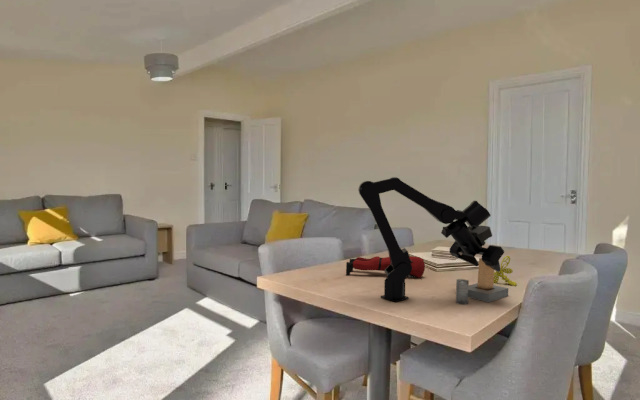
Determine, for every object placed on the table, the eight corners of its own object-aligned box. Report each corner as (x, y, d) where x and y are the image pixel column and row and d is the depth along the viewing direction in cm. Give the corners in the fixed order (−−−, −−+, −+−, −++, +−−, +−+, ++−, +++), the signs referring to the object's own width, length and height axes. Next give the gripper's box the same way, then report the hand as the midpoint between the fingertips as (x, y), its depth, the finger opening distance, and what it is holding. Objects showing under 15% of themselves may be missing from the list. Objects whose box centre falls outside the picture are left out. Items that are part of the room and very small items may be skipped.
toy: (341, 282, 160) (424, 287, 153) (341, 260, 160) (424, 264, 153) (353, 267, 187) (424, 270, 180) (353, 248, 187) (425, 251, 180)
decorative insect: (497, 297, 158) (478, 275, 161) (498, 295, 160) (480, 273, 164) (527, 278, 152) (507, 255, 155) (528, 276, 155) (509, 253, 158)
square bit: (484, 296, 140) (487, 260, 139) (476, 294, 143) (479, 258, 142) (492, 296, 141) (494, 259, 141) (484, 293, 144) (487, 258, 144)
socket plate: (488, 302, 134) (489, 294, 134) (460, 295, 142) (460, 287, 142) (508, 295, 142) (508, 288, 142) (480, 289, 150) (480, 282, 150)
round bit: (463, 305, 131) (464, 282, 131) (453, 302, 134) (454, 280, 134) (470, 303, 134) (471, 280, 133) (460, 300, 136) (460, 278, 136)
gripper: (500, 220, 130) (525, 254, 136) (456, 215, 147) (480, 245, 153) (480, 248, 127) (506, 281, 133) (438, 239, 144) (462, 269, 150)
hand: (488, 267), depth 142 cm, fingers open, 9 cm apart
